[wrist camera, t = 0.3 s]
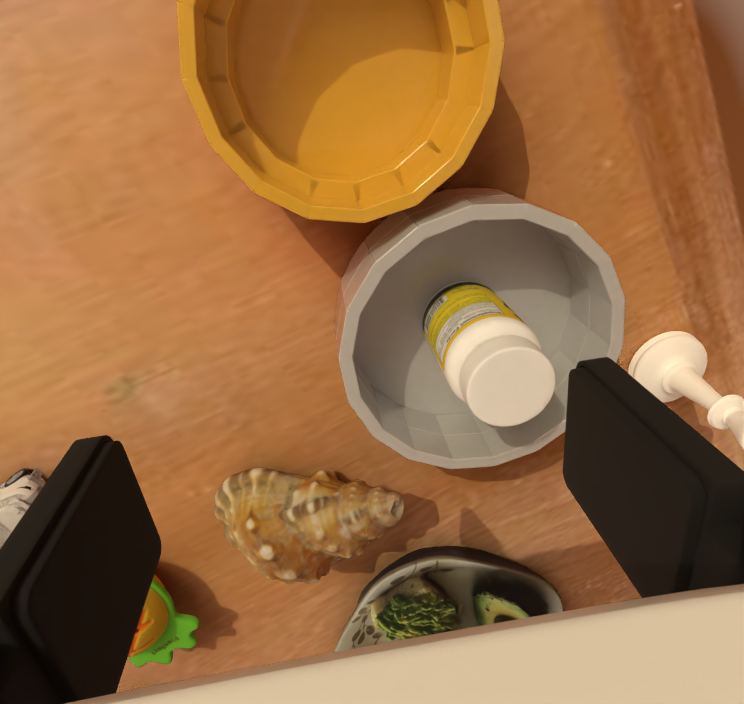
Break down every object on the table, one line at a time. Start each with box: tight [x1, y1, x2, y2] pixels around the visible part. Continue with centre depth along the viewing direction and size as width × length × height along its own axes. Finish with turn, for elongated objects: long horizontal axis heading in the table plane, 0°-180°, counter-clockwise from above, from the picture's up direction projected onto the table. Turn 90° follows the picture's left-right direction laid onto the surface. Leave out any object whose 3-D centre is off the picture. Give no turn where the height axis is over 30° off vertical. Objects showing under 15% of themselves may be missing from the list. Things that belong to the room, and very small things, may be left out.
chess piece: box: [628, 331, 744, 450], centre depth 29 cm, size 5×5×10 cm
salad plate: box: [334, 546, 565, 652], centre depth 41 cm, size 19×18×5 cm
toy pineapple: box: [128, 574, 200, 667], centre depth 34 cm, size 7×10×5 cm
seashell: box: [214, 468, 404, 584], centre depth 32 cm, size 9×8×10 cm
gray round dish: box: [334, 188, 625, 469], centre depth 28 cm, size 14×15×5 cm
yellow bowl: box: [177, 0, 505, 223], centre depth 22 cm, size 12×12×5 cm
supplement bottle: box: [422, 281, 556, 427], centre depth 26 cm, size 5×5×8 cm
